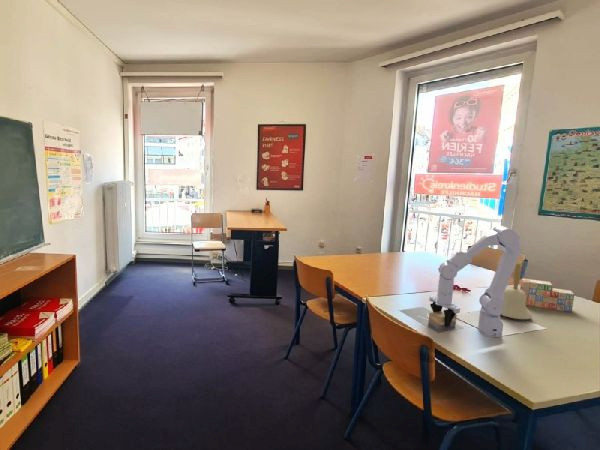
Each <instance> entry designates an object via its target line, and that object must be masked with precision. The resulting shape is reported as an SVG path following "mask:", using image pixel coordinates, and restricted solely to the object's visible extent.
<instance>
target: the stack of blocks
mask: <svg viewBox="0 0 600 450" xmlns="http://www.w3.org/2000/svg"><path fill="white" fill-rule="evenodd" d="M519 289H520V290H522V291H523V292H524V293H525V294H526V303H525V306H532V307H536V308H537V307H538V308H544V309H550V310H555V311H562V312H569V313H572V311H573V305H574V299H575V293H573V291H572V290H567V289H561V288H555V287H554V288H553V284H552V282H551V281H545V280H538V279H531V278H530V279H529V278H521V282H520V288H519Z"/></svg>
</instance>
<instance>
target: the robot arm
mask: <svg viewBox="0 0 600 450" xmlns="http://www.w3.org/2000/svg"><path fill="white" fill-rule="evenodd" d="M490 246H500V247H501V248H502V250H503V254H502V256H501V259H500V261H499V263H498V266H497V268H496V270H495V273H494V276H493V278H492V281H491V283H490V284H489V287H488V288H486V289H485V292H484V293H483V294H481V296H480V297H479V304H480V306H481V307H480V309H479V316H478V323H477V324H478V325H477V330H478V331H479V332H481V334H483V335H484V336H485V337H488V338H492V337H493V338H503V337H502V336H503V330H504V323H503V321H502V320H501V313H502V312H503V303H504V291H505V290H506V289H507V288H508V287H507V286H508V285H509V281H510V279H511V277H512V274H513V272H514V271H515V267H516V264H518V260H519V258H520V256H521V254H522V249H521V242H520V236H519V235H518V233H517V232H516V231H515V230H514V229H513V228H509V227H506V226H505V225H496V226H494V227H493V228H492V229H490V230H488V232H487V233H485V235H483V236H482V237H481V238H480V239H479V240H477V241H476V242H475V243H474V244H473V245H471V246H470V247H469V248H468V249H466V250H460V251H456V252H455V255H454V256H452V257H451V258H449V259H447V260H445V262H442V263H441V264H440V265H439V267H438V273H439V279H438V285H437V297H436V296H434V295H431V296H429V299H428V301H429V302H432V303H430V304H429V305H430V308H431V311H432V312H439V311H444V315H445V326H446V327H447V326H450V324H451V321H452V319H453V318H454V316H455V315H457V314H460V312H461V311H460V310H461V308H460V307H458V306H457V305H455V304H454V303H453V292H454V291H453V290H454V283H455V282H454V281H455V278H456V277H457V275H458V272H460V271H461V270H463V269H464V268H465V267H466V266H468V265H470V264H471V263H472V261H473V258H474V257H475V256H477V255H478V254H480V253H481V252H483V250H485V249H486V248H489V247H490ZM443 308H445V309H443Z"/></svg>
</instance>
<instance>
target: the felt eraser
mask: <svg viewBox="0 0 600 450" xmlns="http://www.w3.org/2000/svg"><path fill="white" fill-rule="evenodd" d="M432 312H433V311H432ZM456 324H457V314H456V315H455V316H454V318H453V319H452V321H451V324H450V326H447V327H446V326H445V315H444V310H441V311H439V312H433V313H429V322H428V325H430V326H432V327H434V328H435V329H442V328H448V327H453V326H456Z"/></svg>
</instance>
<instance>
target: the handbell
mask: <svg viewBox="0 0 600 450" xmlns="http://www.w3.org/2000/svg"><path fill="white" fill-rule="evenodd" d="M513 272H514V273H513V287H506V289H505V291H504V303H503V312H502V313H501V314H500V316H503V317H507V318H511V319H516V320H529V319H532V317H533V314H532V313H531V312H530V310H529V309H528V308H527V305H525V303H526V294H525V293H524V292H523V291H522V290H520V288H519V284H520V281H521V272H522V265H521V264H520V263H518V262H517V263H516V265H515V268H514V271H513Z"/></svg>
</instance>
